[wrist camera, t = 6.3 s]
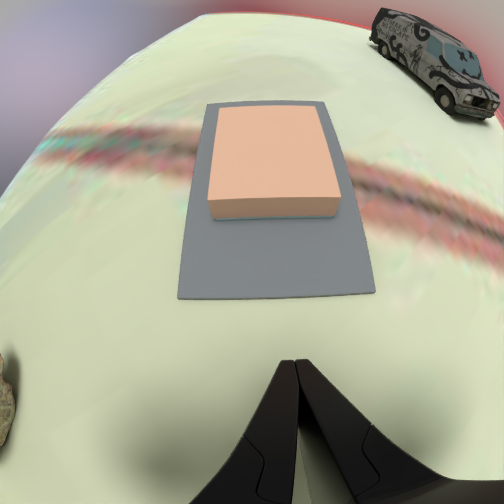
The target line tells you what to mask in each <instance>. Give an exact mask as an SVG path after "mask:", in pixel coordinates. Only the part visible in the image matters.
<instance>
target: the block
mask: <svg viewBox="0 0 504 504" xmlns="http://www.w3.org/2000/svg"><path fill="white" fill-rule="evenodd" d="M340 200H341V194H340V190H339V186H338V182H337V178H336V174H335V170H334V167H333V163H332V159H331V156H330V152H329V149H328V145H327V142H326V139H325V135H324V132H323V129H322V126H321V123H320V120H319V117H318V114H317V111H316V108H315V106H293V105H269V106H241V107H226V108H219V115H218V121H217V128H216V135H215V142H214V149H213V157H212V165H211V173H210V181H209V190H208V199H207V201H208V204H209V207H210V211H211V214H212V217H213V219H215V221H218V220H244V219H279V218H332V216H335V214H336V211H337V208H338V205H339V202H340Z"/></svg>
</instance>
